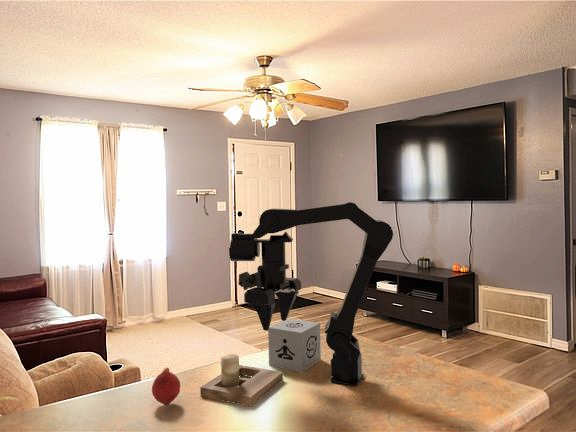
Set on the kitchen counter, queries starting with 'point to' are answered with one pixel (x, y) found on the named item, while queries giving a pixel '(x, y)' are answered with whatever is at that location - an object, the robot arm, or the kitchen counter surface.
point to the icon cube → (294, 344)
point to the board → (244, 386)
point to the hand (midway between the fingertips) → (275, 325)
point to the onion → (166, 387)
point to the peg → (230, 371)
